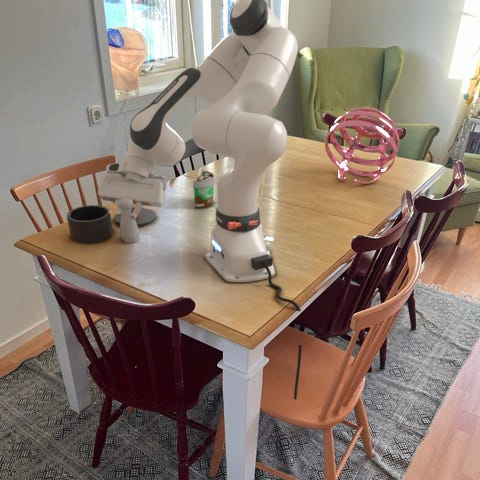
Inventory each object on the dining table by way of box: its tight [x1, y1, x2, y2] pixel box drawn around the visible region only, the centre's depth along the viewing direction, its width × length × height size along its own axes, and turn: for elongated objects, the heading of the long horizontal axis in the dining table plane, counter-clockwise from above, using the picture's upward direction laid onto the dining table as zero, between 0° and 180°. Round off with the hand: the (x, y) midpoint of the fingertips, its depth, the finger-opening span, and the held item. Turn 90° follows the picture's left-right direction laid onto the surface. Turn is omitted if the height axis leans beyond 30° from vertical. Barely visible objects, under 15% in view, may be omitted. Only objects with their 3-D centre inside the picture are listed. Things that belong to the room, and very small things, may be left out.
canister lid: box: [113, 204, 158, 227], centre depth 157 cm, size 14×14×5 cm
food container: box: [192, 169, 217, 209], centre depth 166 cm, size 12×6×10 cm, turn 168°
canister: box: [66, 204, 114, 244], centre depth 147 cm, size 13×13×7 cm
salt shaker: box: [118, 198, 140, 244], centre depth 142 cm, size 6×6×13 cm
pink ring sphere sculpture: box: [324, 107, 401, 186], centre depth 184 cm, size 28×28×27 cm
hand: (125, 216), depth 141 cm, fingers closed on salt shaker, 3 cm apart
